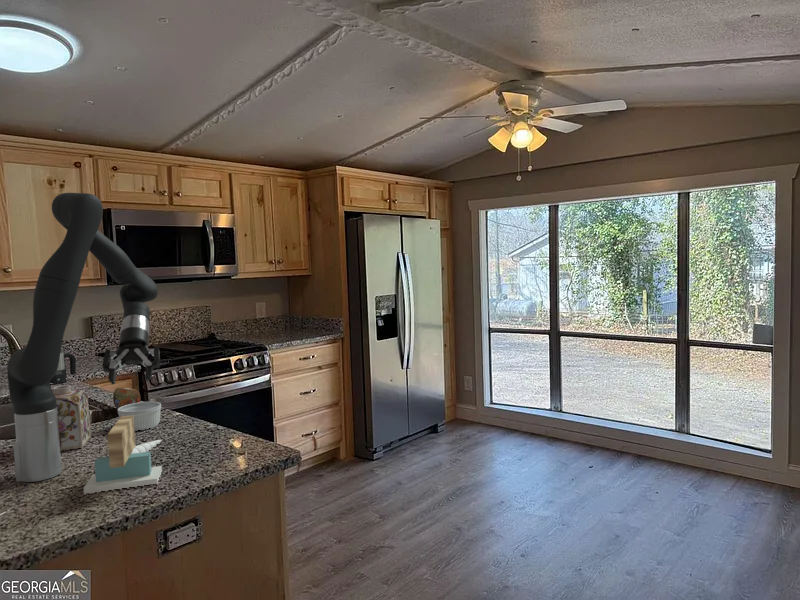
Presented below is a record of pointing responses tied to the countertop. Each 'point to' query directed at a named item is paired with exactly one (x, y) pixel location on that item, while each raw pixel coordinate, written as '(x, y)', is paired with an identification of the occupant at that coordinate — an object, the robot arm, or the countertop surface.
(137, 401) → the tin
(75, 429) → the decorative jar
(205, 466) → the countertop surface
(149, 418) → the ramekin
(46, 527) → the countertop surface
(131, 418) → the wooden beam
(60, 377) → the milk frother
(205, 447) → the countertop surface
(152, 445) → the unicorn horn
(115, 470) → the ridge stand
